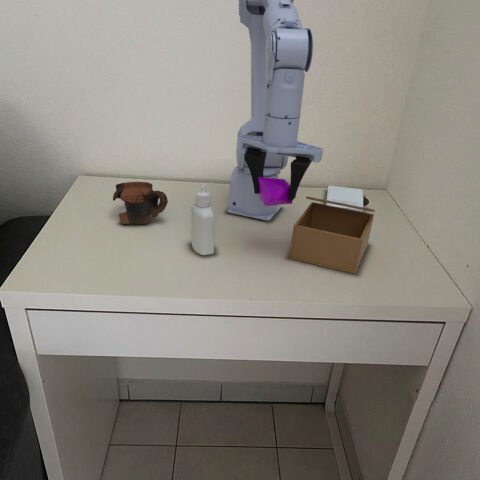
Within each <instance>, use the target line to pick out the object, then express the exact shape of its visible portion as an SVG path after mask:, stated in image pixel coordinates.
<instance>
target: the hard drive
mask: <svg viewBox="0 0 480 480" xmlns="http://www.w3.org/2000/svg"><path fill="white" fill-rule="evenodd" d="M325 200H328V201H333V202H338V203H343V204H349V205H354V206H359V207H364V189H362V188H356V187H355V188H354V187H345V186H337V185H328V187H327V191H326V199H325ZM325 205H329V206H335V207H340V208H345V209H350V210H355V211H360V212H364V210H360V209H355V208H350V207H345V206H340V205H335V204H330V203H325Z"/></svg>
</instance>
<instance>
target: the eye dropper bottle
mask: <svg viewBox="0 0 480 480" xmlns="http://www.w3.org/2000/svg"><path fill="white" fill-rule="evenodd" d="M190 216H191V221H190V223H191V224H190V226H191V234H190V235H191V240H190V241H191V247H192V249H193V251H195V252H196V253H197V254H199V255H201V256H208V255H213V254H214V253H215V224H216V222H215V221H216V216H215V212H214V209H213V208H212V206H211V192H209V191H208V190H207V187H206V185H205V184H201V185H200V190H198V191H196V193H195V204H193V205H192V206H191V215H190Z"/></svg>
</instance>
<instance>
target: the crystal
mask: <svg viewBox="0 0 480 480" xmlns="http://www.w3.org/2000/svg"><path fill="white" fill-rule="evenodd" d="M258 185H259V197H260V199H261V201H262V202H263V204H264V205H265V206H271V205H278V206H281V205H283V206H284V205H293V201H289V200H288V195H289V189H290V183H289V182H288V181H287V180H286V179H285V178H279V177H278V178H265V177H258Z"/></svg>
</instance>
